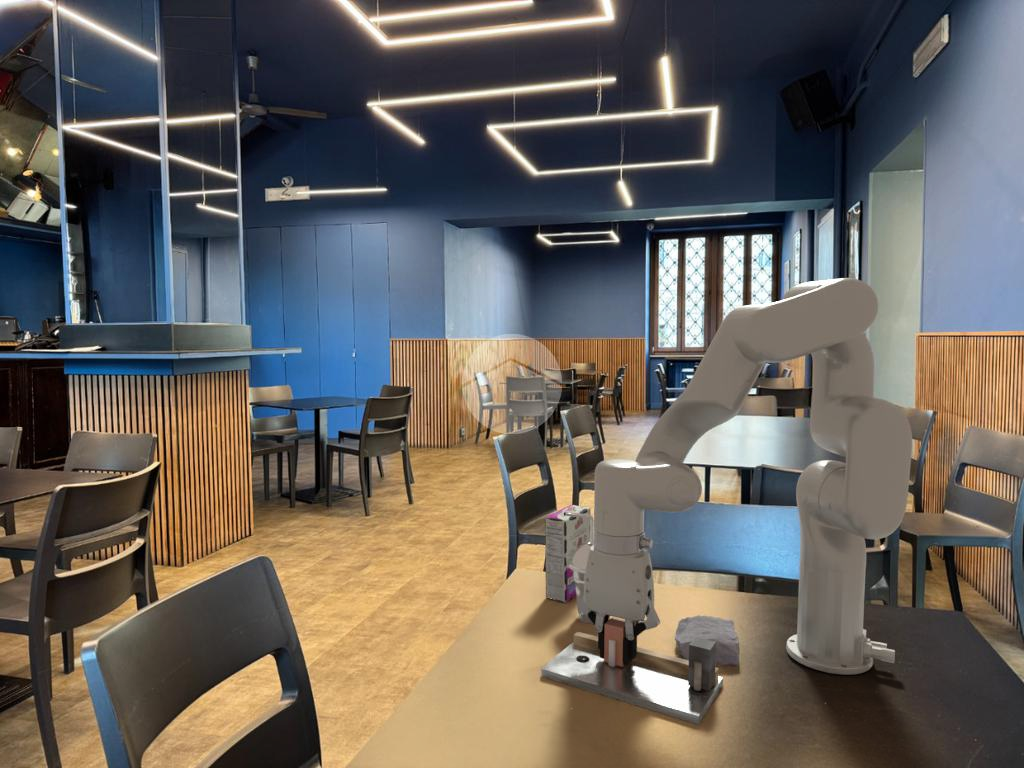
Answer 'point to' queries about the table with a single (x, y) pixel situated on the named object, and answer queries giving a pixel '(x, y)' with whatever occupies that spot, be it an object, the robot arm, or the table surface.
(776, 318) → the robot arm
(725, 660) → the stone block
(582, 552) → the domed lid cup
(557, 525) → the candy bar box
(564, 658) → the bolt plate
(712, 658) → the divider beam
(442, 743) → the table surface
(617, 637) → the block
